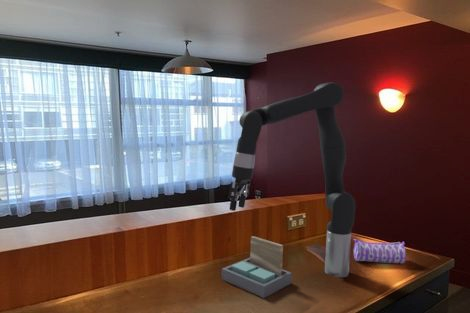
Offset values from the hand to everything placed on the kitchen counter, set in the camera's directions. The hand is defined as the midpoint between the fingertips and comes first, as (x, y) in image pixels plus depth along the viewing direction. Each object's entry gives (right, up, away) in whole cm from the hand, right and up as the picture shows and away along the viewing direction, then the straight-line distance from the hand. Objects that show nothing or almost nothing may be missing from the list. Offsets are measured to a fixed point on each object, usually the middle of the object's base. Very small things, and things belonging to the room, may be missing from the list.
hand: (236, 208), depth 139 cm
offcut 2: (+9, -27, -5) cm, 29 cm away
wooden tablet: (+40, -26, +30) cm, 56 cm away
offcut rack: (+7, -28, 0) cm, 29 cm away
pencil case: (+62, -27, +25) cm, 72 cm away
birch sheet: (+11, -26, +3) cm, 29 cm away
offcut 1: (+2, -26, +1) cm, 26 cm away
